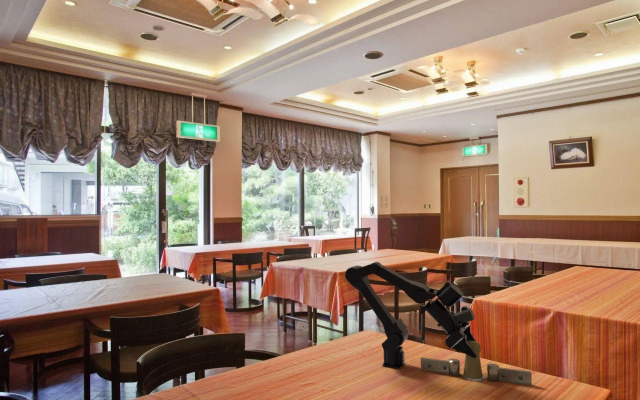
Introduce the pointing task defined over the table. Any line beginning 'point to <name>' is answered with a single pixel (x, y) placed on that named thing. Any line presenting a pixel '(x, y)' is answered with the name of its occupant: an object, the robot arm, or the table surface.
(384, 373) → the table surface
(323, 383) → the table surface
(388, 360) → the robot arm
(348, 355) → the table surface
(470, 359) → the olive rounded piece
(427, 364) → the hinge frame
